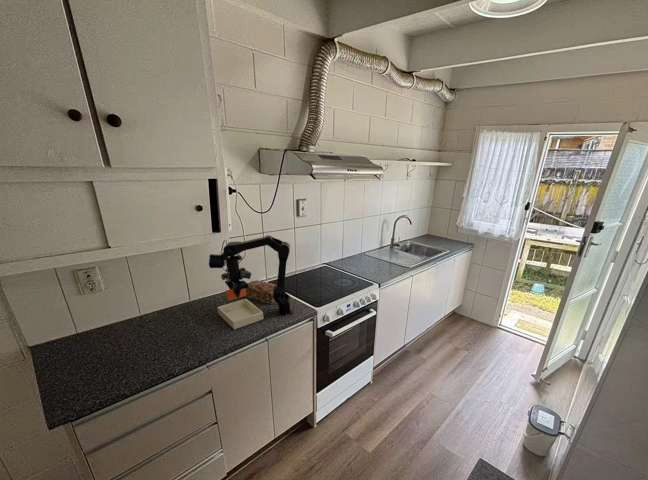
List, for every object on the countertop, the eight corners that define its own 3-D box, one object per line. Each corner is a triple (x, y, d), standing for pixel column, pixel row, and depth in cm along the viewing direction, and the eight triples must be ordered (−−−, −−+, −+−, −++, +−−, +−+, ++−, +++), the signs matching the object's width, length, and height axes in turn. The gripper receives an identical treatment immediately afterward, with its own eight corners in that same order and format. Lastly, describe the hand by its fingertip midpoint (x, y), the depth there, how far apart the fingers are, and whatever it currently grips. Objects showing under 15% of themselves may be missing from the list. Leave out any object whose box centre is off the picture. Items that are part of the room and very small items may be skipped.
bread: (245, 298, 175) (244, 283, 171) (257, 291, 184) (256, 277, 180) (272, 305, 169) (270, 290, 165) (283, 298, 178) (282, 283, 174)
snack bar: (246, 295, 156) (245, 288, 155) (229, 300, 150) (228, 293, 149) (242, 292, 159) (242, 286, 157) (225, 297, 153) (225, 290, 151)
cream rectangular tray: (263, 319, 155) (263, 312, 153) (234, 330, 145) (233, 322, 143) (246, 305, 168) (246, 298, 166) (218, 314, 157) (217, 306, 155)
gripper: (257, 269, 148) (259, 297, 154) (240, 259, 159) (242, 285, 166) (235, 274, 140) (238, 304, 146) (219, 263, 152) (222, 291, 158)
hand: (236, 295), depth 154 cm, fingers closed on snack bar, 4 cm apart
